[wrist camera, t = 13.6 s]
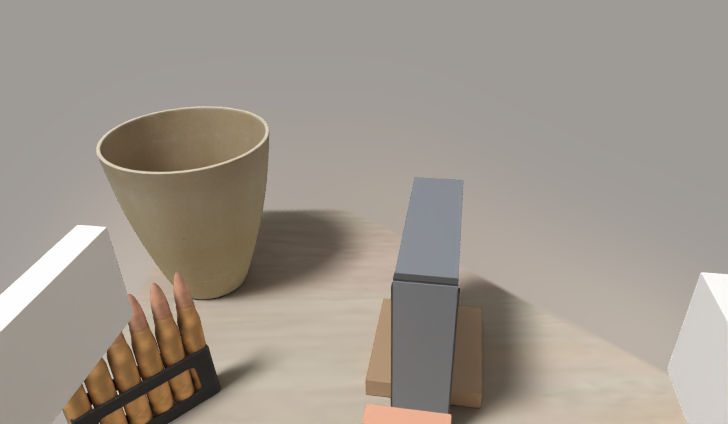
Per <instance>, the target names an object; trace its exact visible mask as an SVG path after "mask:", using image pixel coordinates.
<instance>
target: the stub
mask: <svg viewBox="0 0 728 424" xmlns="http://www.w3.org/2000/svg"><path fill="white" fill-rule="evenodd" d="M362 424H451V414H445V413H436V412H428V411H420V410H412V409H404V408H396V407H388V406H380V405H372V404H366V409H365V413H364V418H363V423H362Z"/></svg>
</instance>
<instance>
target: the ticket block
mask: <svg viewBox="0 0 728 424" xmlns="http://www.w3.org/2000/svg"><path fill="white" fill-rule="evenodd" d="M462 200H463V180H453V179H435V178H419V177H415V178H414V182H413V187H412V192H411V197H410V202H409V207H408V211H407V216H406V221H405V226H404V231H403V236H402V240H401V245H400V250H399V255H398V260H397V265H396V269H395V273H394V277H393V282H392V286H391V299H383V304H382V308H381V313H380V317H379V322H378V326H377V331H376V335H375V340H374V344H373V349H372V354H371V358H370V363H369V367H368V372H367V376H366V394H368V395H376V396H384V397H391V407H396V408H404V409H412V410H420V411H428V412H436V413H445V414H450V405H458V406H467V407H475V408H481V400H482V308H479V307H469V306H458V305H459V293H460V288H458V279H459V278H458V277H459V258H460V257H459V256H460V239H461V220H462V219H461V218H462Z"/></svg>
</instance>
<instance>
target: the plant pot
mask: <svg viewBox="0 0 728 424" xmlns="http://www.w3.org/2000/svg"><path fill="white" fill-rule="evenodd" d="M268 152H269V127H268V124H267V123H266V122H265V121H264V120H263V119H262V118H261V117H259V116H257V115H255V114H253V113H250V112H247V111H244V110H239V109H234V108H227V107H211V106H206V107H205V106H204V107H187V108H178V109H170V110H165V111H159V112H154V113H150V114H147V115H143V116H140V117H137V118H134V119H132V120H129V121H127V122H124V123H122V124H120V125H118V126H116V127H115V128H113V129H112V130H110V131H109V132H107V133H106V134H105V135H104V136H103V137H102V138H101V139H100V140H99V142H98V144H97V148H96V153H97V156H98V158H99V160H100V163H101V165H102V167H103V169H104V172H105V174H106V176H107V178H108V180H109V182H110V185H111V187H112V189H113V191H114V193H115V196H116V198H117V200H118V202H119V204H120V205H121V208H122V210H123V211H124V213H125V215H126V217H127V219H128V220H129V222H130V224H131V226H132V227H133V229H134V231H135V232H136V234H137V236H138V237H139V239H140V240H141V242H142V244H143V245H144V247H145V248H146V250H147V251H148V253H149V254H150V256H151V257H152V259H153V260H154V261H155V263H156V264H157V266H158V267H159V268H160V270H161V271H162V272H163V274H164V275H165V276H166V277H167V279H168V280H169V281H170V282H171V284H172V285H173V286H174V276H175V274H176V272H179V273H180V274H181V275H182V276H183V278H184V279H185V281H186V283H187V285H188V287H189V290H190V292H191V296H192V298H194V299H212V298H217V297H220V296H223V295H226V294H228V293H230V292H232V291H234V290H235V289H237V288H238V287H239V286H240V285H241V284H242V283H243V282H244V280H245V279H246V276H247V273H248V270H249V267H250V264H251V260H252V257H253V253H254V250H255V245H256V241H257V237H258V233H259V228H260V223H261V218H262V212H263V205H264V198H265V191H266V182H267V170H268Z"/></svg>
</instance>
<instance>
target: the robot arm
mask: <svg viewBox="0 0 728 424" xmlns="http://www.w3.org/2000/svg"><path fill="white" fill-rule="evenodd" d="M133 316H134V314H133V311H132V307H131V304H130V301H129V298H128V295H127V291H126V288H125V285H124V282H123V278H122V275H121V272H120V269H119V266H118V262H117V259H116V256H115V253H114V249H113V246H112V243H111V240H110V237H109V233H108V230H107V227H99V226H86V225H77V226H76V227H75V228H74V229H72V231H70V232H69V233H68V234H67V235H66V236H65V237H64V238H63V239H62V240H60V241H59V243H57V244H56V245H55V246H54V247H53V248H52V249H50V250H49V251H48V252H47V253H46V254H45V255H44V256H43V257H42V258H41V259H39V261H37V262H36V263H35V264H34V265H33V266H32V267H31V268H30V269H28V270H27V271H26V272H25V273H24V274H23V275H22V276H21V277H20V278H18V279H17V280H16V281H15V282H14V283H13V284H12V285H11V286H10V287H9V288H7V289H6V290H5V291H4V292H3V293H2V294H1V295H0V424H52V422H53V421H54V420H55V418H56V417H57V416H58V414H59V413H60V412H61V410H62V409H63V408H64V407H65V405H66V404H67V403H68V401H69V400H70V399H71V397H72V396H73V395H74V393H75V392H76V391H77V389H78V388H79V387H80V385H81V384H82V383H83V382H84V380H85V379H86V378H87V376H88V375H89V374H90V372H91V371H92V370H93V368H94V367H95V366H96V364H97V363H98V362H99V360H100V359H101V358H102V356H103V355H104V354H105V353H106V351H107V350H108V349H109V347H110V346H111V345H112V343H113V342H114V341H115V339H116V338H117V337H118V335H119V334H120V333H121V331H122V330H123V329H124V328H125V326H126V325H127V324H128V322H129V321H130V320H131V318H132V317H133ZM667 371H668V373H669V376H670V379H671V382H672V384H673V387H674V390H675V393H676V395H677V398H678V401H679V403H680V406H681V409H682V412H683V414H684V417H685V420H686V423H687V424H728V274H716V273H702V272H701V274H700V277H699V279H698V282H697V285H696V288H695V291H694V294H693V296H692V299H691V302H690V305H689V308H688V311H687V314H686V317H685V319H684V322H683V325H682V328H681V331H680V334H679V337H678V340H677V343H676V345H675V348H674V351H673V354H672V357H671V360H670V362H669V365H668V368H667Z"/></svg>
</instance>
